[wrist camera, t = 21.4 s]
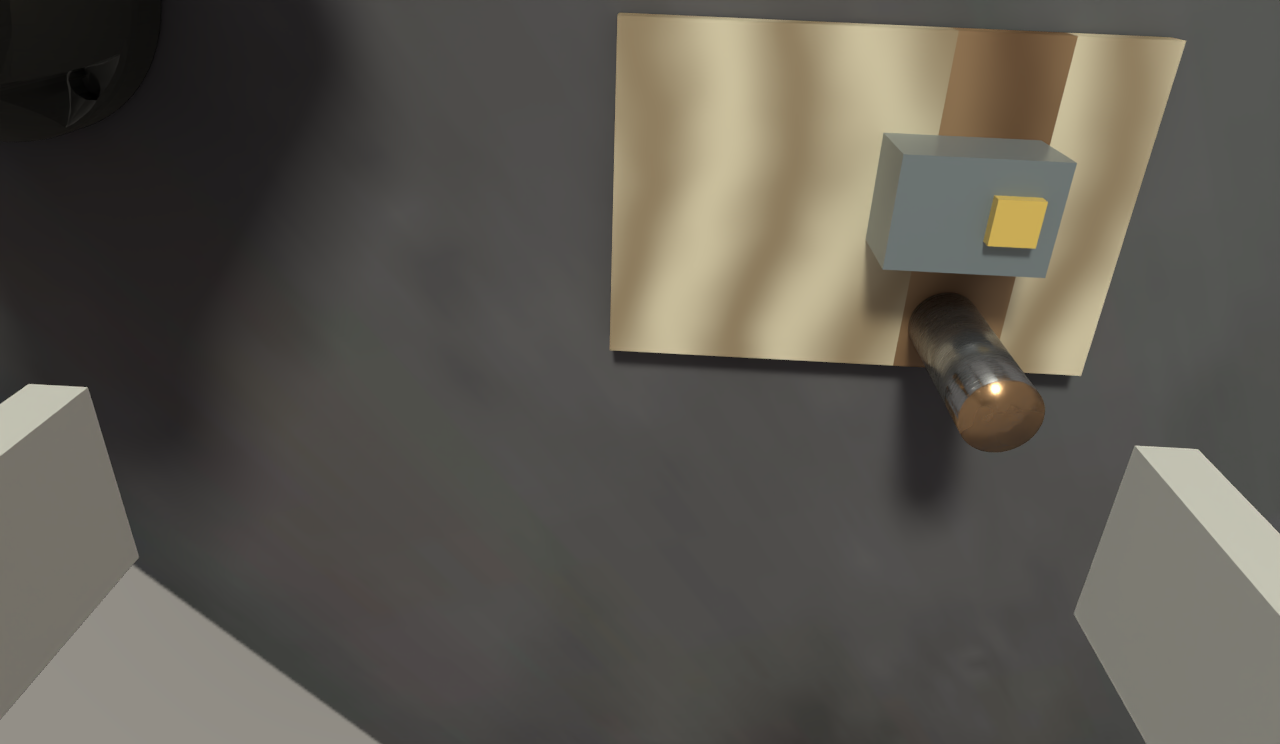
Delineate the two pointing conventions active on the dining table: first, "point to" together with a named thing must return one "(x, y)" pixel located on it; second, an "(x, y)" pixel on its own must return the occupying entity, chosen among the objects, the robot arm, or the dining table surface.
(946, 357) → the metal cylinder
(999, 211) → the block
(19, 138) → the robot arm
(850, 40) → the board
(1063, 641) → the dining table surface
